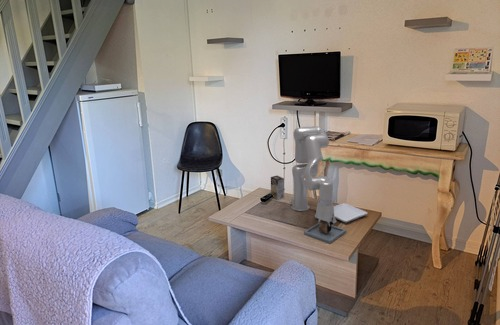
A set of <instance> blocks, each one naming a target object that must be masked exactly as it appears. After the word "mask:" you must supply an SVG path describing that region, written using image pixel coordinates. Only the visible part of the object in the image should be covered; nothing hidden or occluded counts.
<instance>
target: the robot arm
mask: <svg viewBox="0 0 500 325" xmlns="http://www.w3.org/2000/svg"><path fill="white" fill-rule="evenodd" d="M292 133H293V140H294V144H295V145H294V146H295V148H294V158H295V159H294V160H295V163H297V164H296V165H293V166H292V169H291V173H292V178H293V179H292V180H293V199H292V198H290V200H289V203H290V204H291V209H292V210H293V211H296V212H305V211H309V209H310V208H311V206H310V205H309V204H308V190H309V191H318V190H319V191H318V192H319V194H318V197H317V201H318V202H317V205H316V211H315V212H316V213H315V214H314V217H315V219H316V221H317V223H319V222H320V221H322V220H323V221H326V222H328V226H327V232H329V231H331V226H332V225H334V224H336V223H338V221H337V219H336V218H335V217H334V206H335V205H334V204H333V195H334V194H333V190H334V186H333V185H334V184H333V182H332V181H331V180H330V178H329V177H328V176H326V175H325V176H317V175H318V173H319V164H320V163H321V162H322V161H323V159H324V158H323V154H322V149H323V148H328V147H329V145H330V141H329V137H328V135H327V133H326V132H325V131H324V130H323V129H322V128H321V127H320V126H317V125H315V126H300V127H296V128H295V129H294V130H293V132H292Z"/></svg>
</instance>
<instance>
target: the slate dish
mask: <svg viewBox="0 0 500 325" xmlns="http://www.w3.org/2000/svg"><path fill="white" fill-rule="evenodd" d="M345 234H347V229H345V228H342V227H338V226H335V225H334V224H332V226H331V231H330V232H328V233H327V234H325V233H322V232H319V223H318V222H317V223H316V224H314V225H312V226H311V227H308V228H307V229H306V230H304V231H303V235H305V236H307V237H309V238H312V239H314V240H318V241H321V242H324V243H327V244H329V245H331V244H332V243H334V242H335V241H337V240H339V238H340V237H342V236H345Z"/></svg>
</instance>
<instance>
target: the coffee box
mask: <svg viewBox="0 0 500 325" xmlns="http://www.w3.org/2000/svg"><path fill="white" fill-rule="evenodd" d="M271 194H272V195H273V197H274V198H273V197H272V198H273V199H275V200H277V201H279V199H280V200H283V199H285V178H284V177H282V176H279V175H274V176H270V195H271ZM282 198H283V199H282Z"/></svg>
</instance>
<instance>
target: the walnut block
mask: <svg viewBox="0 0 500 325" xmlns="http://www.w3.org/2000/svg"><path fill="white" fill-rule="evenodd" d="M327 226H328V222H326V221H323V220H322V221H320V222H319V232H322V233H325V234H327V233H328V232H327ZM329 232H330V231H329Z"/></svg>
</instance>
